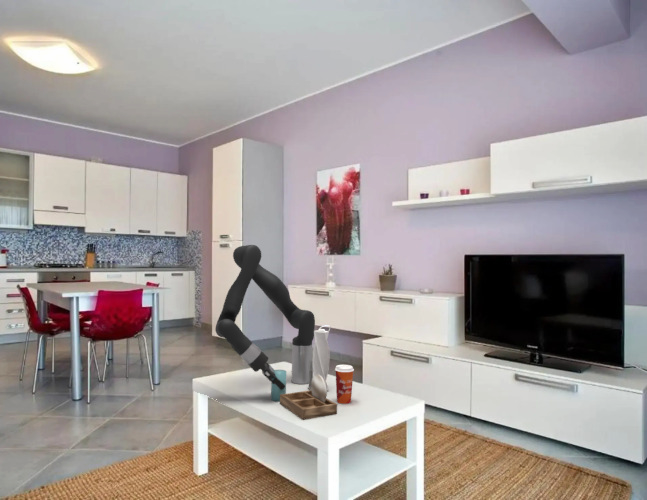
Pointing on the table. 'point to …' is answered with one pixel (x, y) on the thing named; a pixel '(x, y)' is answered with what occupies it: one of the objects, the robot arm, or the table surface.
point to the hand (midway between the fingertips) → (282, 385)
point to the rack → (310, 401)
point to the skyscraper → (320, 355)
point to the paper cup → (344, 383)
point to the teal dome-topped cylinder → (274, 388)
